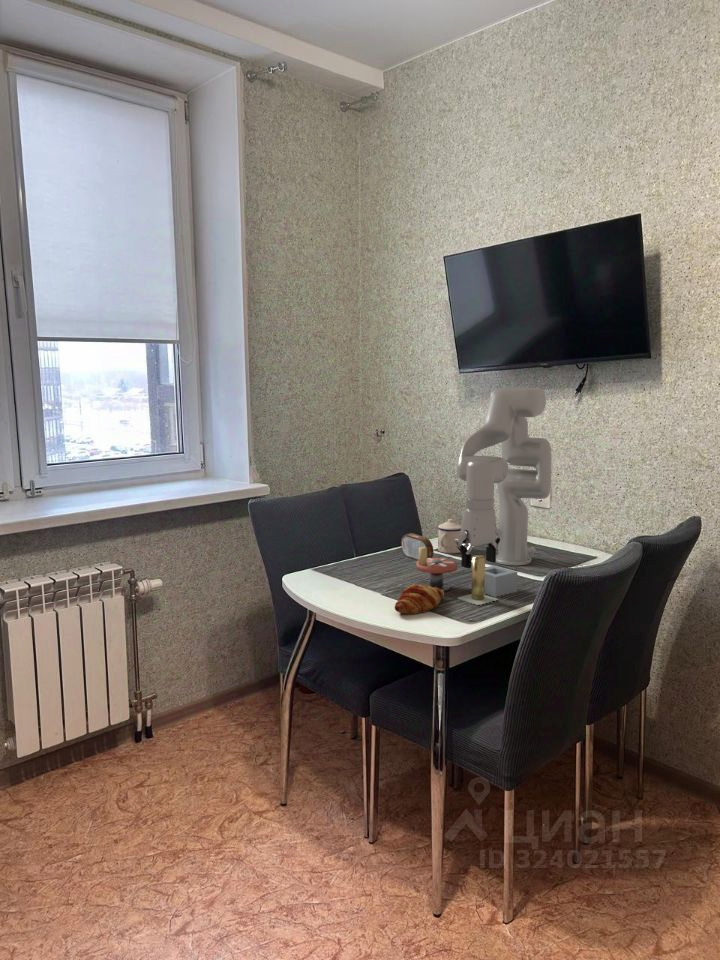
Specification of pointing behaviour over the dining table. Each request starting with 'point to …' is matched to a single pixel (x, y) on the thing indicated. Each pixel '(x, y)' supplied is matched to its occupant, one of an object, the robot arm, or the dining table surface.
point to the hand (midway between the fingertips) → (478, 564)
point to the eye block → (500, 581)
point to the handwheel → (434, 563)
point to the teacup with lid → (448, 537)
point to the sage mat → (477, 602)
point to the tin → (415, 545)
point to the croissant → (418, 599)
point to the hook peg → (478, 577)
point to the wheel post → (438, 582)
